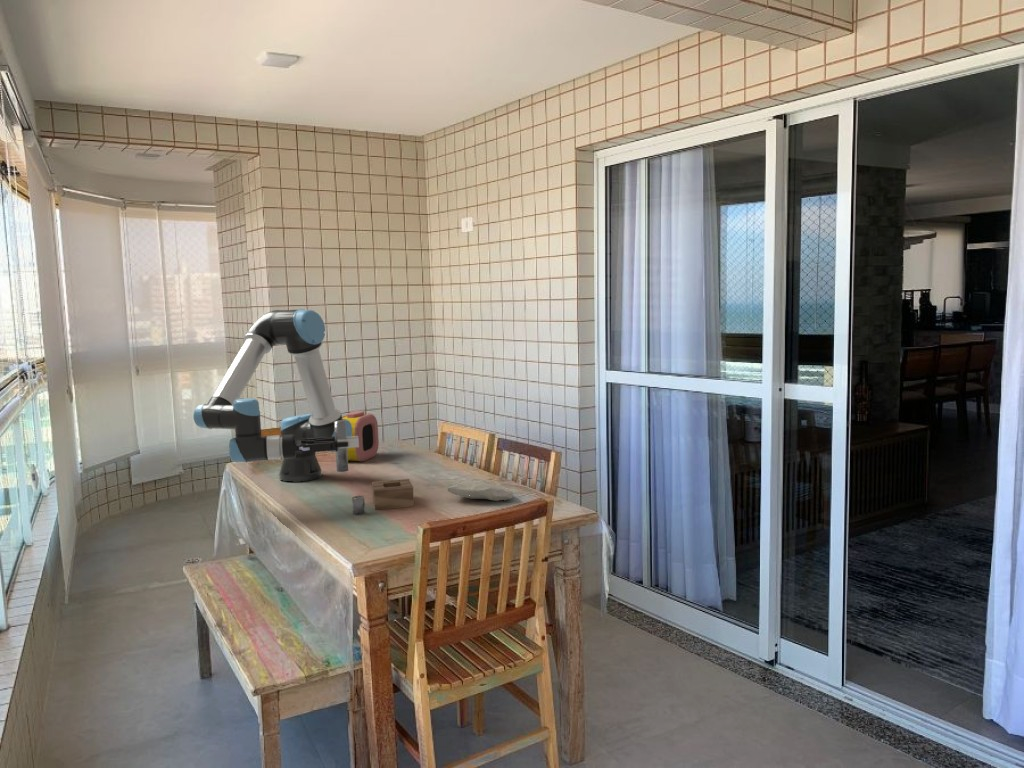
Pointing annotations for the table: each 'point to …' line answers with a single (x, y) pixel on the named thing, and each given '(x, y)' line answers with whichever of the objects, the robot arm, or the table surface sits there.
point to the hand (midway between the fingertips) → (358, 441)
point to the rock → (480, 490)
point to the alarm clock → (363, 435)
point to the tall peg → (342, 453)
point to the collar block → (392, 494)
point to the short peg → (358, 505)
